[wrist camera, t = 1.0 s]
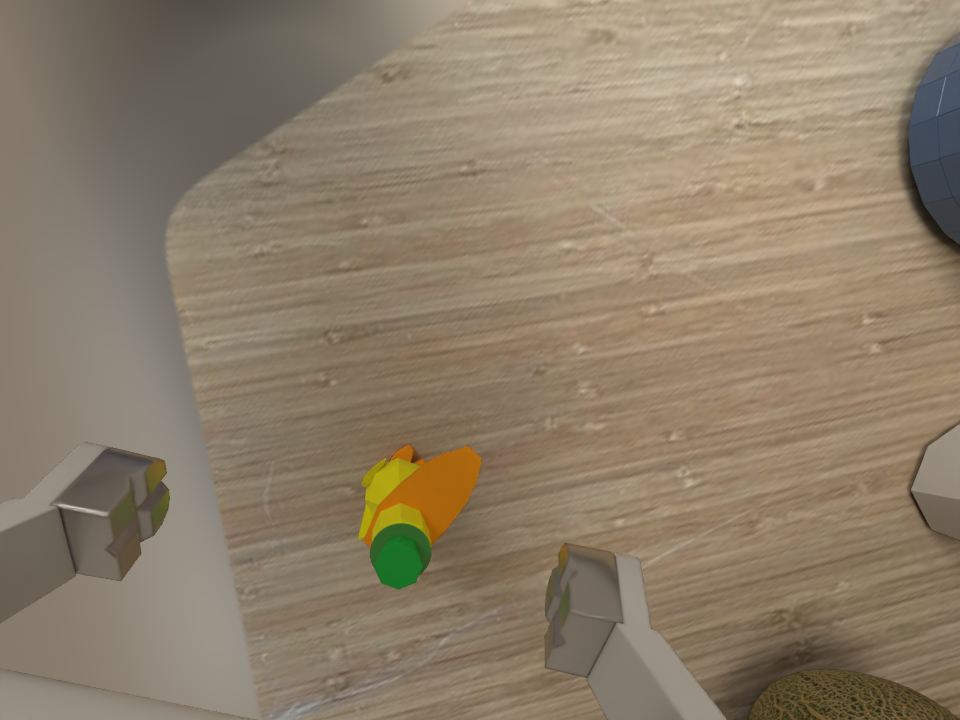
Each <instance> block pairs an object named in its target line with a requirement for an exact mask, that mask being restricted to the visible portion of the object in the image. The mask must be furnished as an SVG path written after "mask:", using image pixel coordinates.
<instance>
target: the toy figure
mask: <svg viewBox="0 0 960 720" xmlns="http://www.w3.org/2000/svg"><path fill="white" fill-rule="evenodd" d="M414 453H415V450H414V449H413V448H412V447H411V446H410V445H406V446H405V447H403V448H401V449H399V450H397V451H396V453H395V454H394V455H393V456H392V458H391V459H390V461H389V462H387V463H385V462H386V460H387V458H386V459H384V460H382V461H380V462H379V463H377V464H376V465H375V466H374V467H373V468H371V469H370V470H369V471H368V472H367V473H366V474H365V475H364V476H363V480H362V483H361V484H362V486H363V487H367V486H368V487H367V489H366V494H365V501H366V507H365V511H364V515H363V519H362V523H361V528H360V532H359V536H358V540H359V539H362V538H364V540H363V541H364V542H365V543H366V544H367V545H368V546H369V547H370V548H371V549H370V558H371V562H372V564H373V566H374V568H375V570H376V572H377V575H378V577H379V579H380V581H381V583H382V584H385V585H388V586H391V587H393V588H396V589H401V588H403V587H406V586H408V585H411V584H413V583H416V581H417V578H418V576H419V575H420V574H421V573H423V571H424V570H425V569H426V568H427V566H428V564H429V562H430V558H431V548H432V544H433V543H434V542H435V541H436V540H437V539H438V538H439V537H440V536H441V535H442V534H443V533H444V532H445V531H446V529H447V528H448V527H449V525H450V524H451V523H452V522H453V520H454V519H455V518H456V516H457V515H458V514H459V512H460V511H461V510H462V508H463V507H464V506H465V505H466V503H467V501H468V499H469V497H470V495H471V493H472V491H473V489H474V487H475V485H476V482H477V478H478V474H479V470H480V466H481V462H482V459H481V458H480V457H479V456H478V455H477V454H476V453H475V452H474V451H473V450H472V449H471V448H470V447H469V446H466V447H463V448H460V449H458V450H455V451H452V452H444V453H442V454H441V455H439V456H437V457H435V458H433V459H431V460H429V461H428V462H426V461H425V460H424V459H420V460H418V461H415V462H413V463H411V459H412V457H413V455H414Z"/></svg>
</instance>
